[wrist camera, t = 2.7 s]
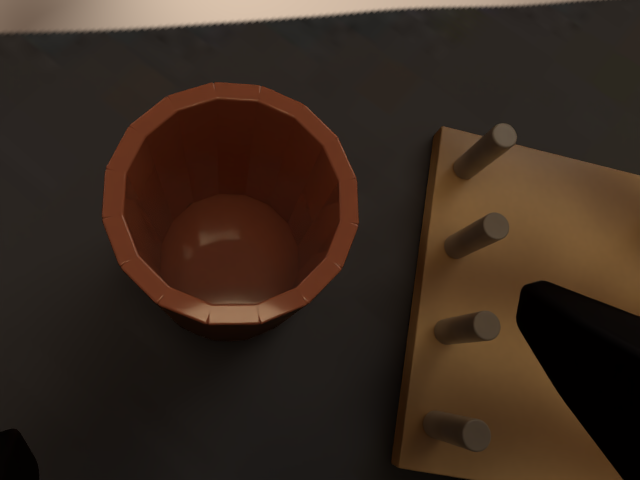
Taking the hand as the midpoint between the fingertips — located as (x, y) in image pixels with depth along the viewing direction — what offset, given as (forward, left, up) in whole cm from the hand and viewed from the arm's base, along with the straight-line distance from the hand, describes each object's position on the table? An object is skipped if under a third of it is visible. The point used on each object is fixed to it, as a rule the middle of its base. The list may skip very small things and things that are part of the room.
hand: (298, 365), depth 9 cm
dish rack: (+10, -7, -12) cm, 17 cm away
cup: (+2, +4, -12) cm, 12 cm away
